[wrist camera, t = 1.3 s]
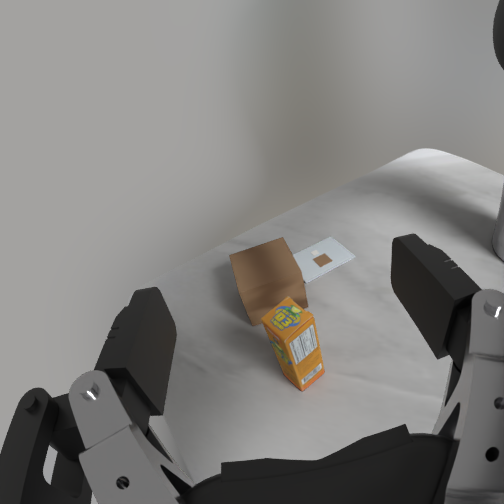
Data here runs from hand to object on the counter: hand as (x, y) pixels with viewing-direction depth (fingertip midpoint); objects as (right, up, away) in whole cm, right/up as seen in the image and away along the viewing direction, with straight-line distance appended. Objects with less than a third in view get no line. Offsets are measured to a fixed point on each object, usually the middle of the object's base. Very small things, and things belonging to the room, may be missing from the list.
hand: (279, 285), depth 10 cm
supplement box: (+4, -12, +19) cm, 22 cm away
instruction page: (+8, 0, +32) cm, 33 cm away
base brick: (+2, -5, +29) cm, 29 cm away
